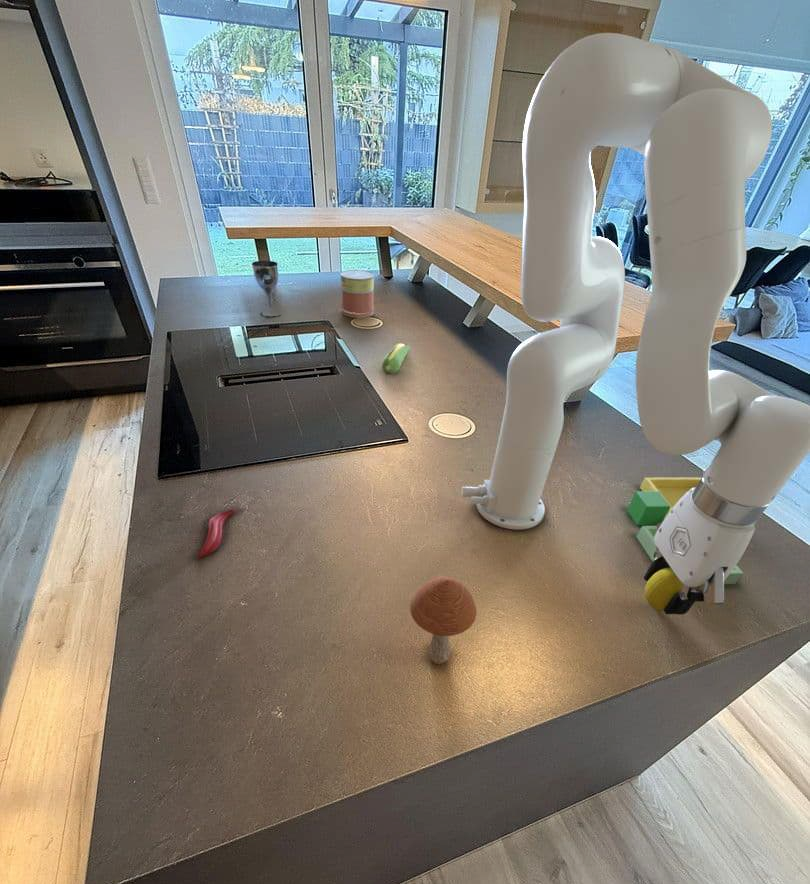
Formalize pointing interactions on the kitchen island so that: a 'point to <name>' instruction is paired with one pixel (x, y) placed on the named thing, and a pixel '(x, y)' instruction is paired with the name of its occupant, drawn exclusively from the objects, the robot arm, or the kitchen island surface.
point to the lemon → (662, 588)
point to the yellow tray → (670, 488)
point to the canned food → (357, 292)
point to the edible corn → (395, 358)
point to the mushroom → (443, 613)
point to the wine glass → (266, 276)
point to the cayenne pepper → (214, 533)
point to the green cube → (648, 508)
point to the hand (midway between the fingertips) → (664, 594)
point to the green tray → (650, 547)
